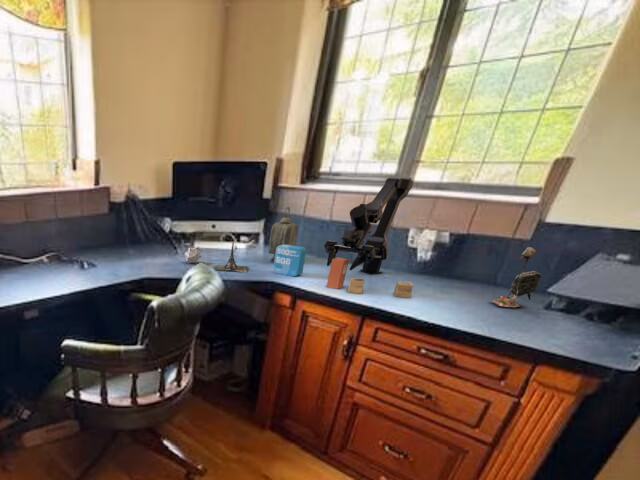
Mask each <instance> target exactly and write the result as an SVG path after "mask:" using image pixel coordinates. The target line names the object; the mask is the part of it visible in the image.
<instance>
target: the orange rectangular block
mask: <svg viewBox="0 0 640 480" xmlns="http://www.w3.org/2000/svg"><path fill="white" fill-rule="evenodd" d="M349 262H350V258H345V257H337V256H336V257H335V258H334V259H332V262H331V264H330V266H329V267H330V268H329V273H328V278H327V282H326V287H327V288H331V289H335V290H338V289H341V288H343V287H344V285H345V280H346V275H347V271H348V266H349Z"/></svg>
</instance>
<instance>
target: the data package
mask: <svg viewBox="0 0 640 480" xmlns="http://www.w3.org/2000/svg"><path fill="white" fill-rule="evenodd" d="M306 254H307V249H306V247H304V246H300V245H299V246H298V245H295V246H292V245H285V244H284V245H281V246H278V247H277V248H276V254H275V257H274V260H273V268H272V269H273V270H272V271H273V272H274V273H275V274H278V275H285V276H289V277H297V276H300V275H302V274H303V271H304V266H305V260H306V256H307V255H306Z"/></svg>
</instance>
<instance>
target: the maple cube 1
mask: <svg viewBox="0 0 640 480" xmlns="http://www.w3.org/2000/svg"><path fill="white" fill-rule="evenodd" d="M364 286H365V279H364V278H357V277H350V279H349V284H348V288H347V293H348V294H363V291H364Z"/></svg>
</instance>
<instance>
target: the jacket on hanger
mask: <svg viewBox="0 0 640 480" xmlns="http://www.w3.org/2000/svg"><path fill="white" fill-rule="evenodd" d="M290 208H291V207H289V206H286V208H285V209H284V211H283V217H282V218H281V219H280V221H277V222H275V223H273V225H272V226H271V230H270V234H269V235H270V236H269V242H268V253H269V254H271V255H273V256H272V258H270V259H269V262H274V259H275V254H276V248H277V247H278V246H281V245H284V244H285V245H292V246H297V245H296V244H297V238H298V233H299V232H298V231H299V225H298V224H296V223H295V222H292V220H291V218H290V217H288V216H289V215H290V211H291V209H290ZM287 210H288V212H287ZM286 212H287V213H286Z"/></svg>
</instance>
